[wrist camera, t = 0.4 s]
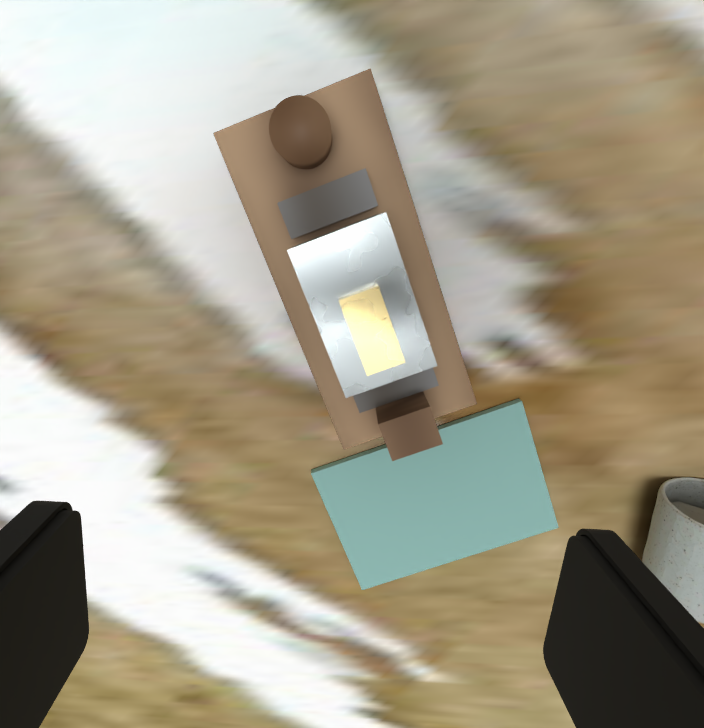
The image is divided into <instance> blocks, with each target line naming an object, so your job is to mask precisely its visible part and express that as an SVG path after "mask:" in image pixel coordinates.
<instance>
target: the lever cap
mask: <svg viewBox="0 0 704 728" xmlns="http://www.w3.org/2000/svg"><path fill="white" fill-rule="evenodd" d="M287 252H288V254H289V257H290V259H291V262H292V264H293V267H294V269H295V272H296V274H297V277H298V279H299V282H300V284H301V287H302V289H303V292H304V294H305V297H306V299H307V302H308V304H309V307H310V309H311V312H312V314H313V317H314V319H315V322H316V324H317V327H318V329H319V332H320V335H321V337H322V340H323V342H324V345H325V347H326V350H327V352H328V355H329V357H330V360H331V362H332V365H333V367H334V370H335V372H336V375H337V377H338V380H339V382H340V385H341V387H342V390H343V392H344V395H345V397H346V398H348V397H351V396H354V395H356V394H359V393H362V392H365V391H368V390H371V389H373V388H376V387H379V386H382V385H385V384H388V383H390V382H393V381H396V380H399V379H402V378H405V377H407V376H410V375H413V374H416V373H419V372H422V371H424V370H427V369H430V368H433V367H436V366H437V363H436V360H435V357H434V354H433V351H432V348H431V345H430V342H429V339H428V336H427V333H426V330H425V327H424V324H423V321H422V318H421V315H420V312H419V309H418V306H417V303H416V300H415V297H414V294H413V291H412V288H411V285H410V282H409V279H408V276H407V273H406V270H405V267H404V264H403V261H402V258H401V255H400V252H399V249H398V246H397V243H396V240H395V237H394V234H393V231H392V228H391V225H390V222H389V219H388V216H387V213H386V212H384V213H379V214H376V215H374V216H371V217H369V218H366V219H363V220H361V221H358V222H356V223H353V224H350V225H348V226H345V227H343V228H340V229H337V230H335V231H332V232H330V233H327V234H324V235H322V236H319V237H317V238H314V239H311V240H309V241H306V242H304V243H301V244H298V245H296V246H294V247H292V248H290V249H288V250H287Z"/></svg>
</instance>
